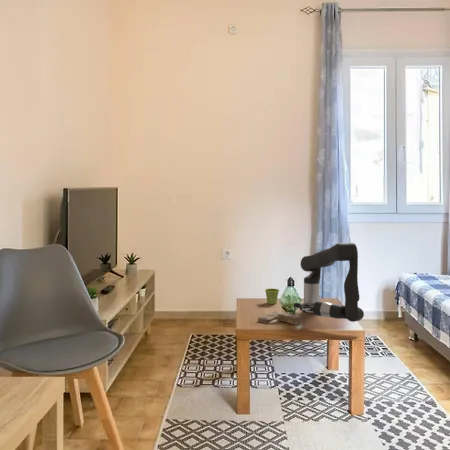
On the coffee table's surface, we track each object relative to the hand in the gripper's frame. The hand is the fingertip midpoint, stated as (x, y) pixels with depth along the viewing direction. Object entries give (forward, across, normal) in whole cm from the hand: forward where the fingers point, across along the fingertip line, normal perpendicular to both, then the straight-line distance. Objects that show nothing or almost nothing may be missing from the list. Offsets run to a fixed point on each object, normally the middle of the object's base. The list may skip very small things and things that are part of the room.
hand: (294, 304), depth 256 cm
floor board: (+13, 0, +10) cm, 16 cm away
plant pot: (+35, -33, +10) cm, 49 cm away
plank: (-2, 0, +8) cm, 9 cm away
